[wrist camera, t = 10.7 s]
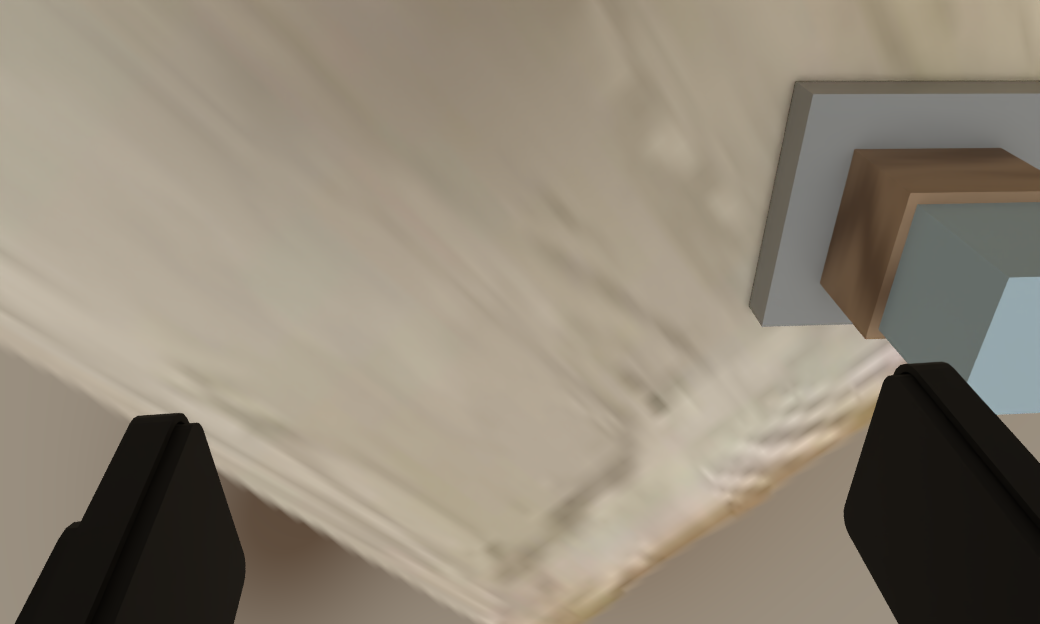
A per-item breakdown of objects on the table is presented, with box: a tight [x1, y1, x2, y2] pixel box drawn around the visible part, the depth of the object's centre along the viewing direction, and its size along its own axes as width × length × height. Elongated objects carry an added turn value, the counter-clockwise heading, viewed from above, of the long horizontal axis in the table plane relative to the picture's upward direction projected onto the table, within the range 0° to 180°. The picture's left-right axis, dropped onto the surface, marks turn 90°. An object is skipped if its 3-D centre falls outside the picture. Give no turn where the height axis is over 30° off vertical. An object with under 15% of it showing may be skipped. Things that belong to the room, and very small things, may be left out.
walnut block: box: [820, 148, 1040, 339], centre depth 35 cm, size 7×7×5 cm
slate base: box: [749, 81, 1040, 327], centre depth 38 cm, size 12×12×2 cm
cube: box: [879, 202, 1040, 415], centre depth 30 cm, size 6×6×6 cm
